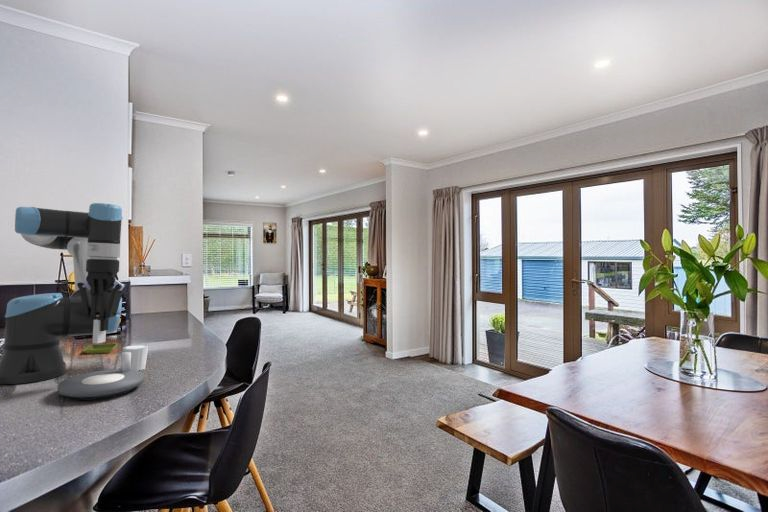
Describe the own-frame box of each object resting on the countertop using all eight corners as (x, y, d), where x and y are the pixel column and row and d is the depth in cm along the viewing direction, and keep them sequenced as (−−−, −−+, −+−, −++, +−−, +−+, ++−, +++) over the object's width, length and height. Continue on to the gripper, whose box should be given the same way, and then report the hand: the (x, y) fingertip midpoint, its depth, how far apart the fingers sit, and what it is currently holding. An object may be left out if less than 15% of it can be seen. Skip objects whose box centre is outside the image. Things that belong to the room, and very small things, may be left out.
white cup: (138, 372, 114) (139, 349, 114) (115, 371, 114) (117, 348, 114) (152, 366, 121) (153, 344, 121) (131, 365, 121) (132, 344, 121)
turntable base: (56, 397, 92) (56, 392, 92) (100, 381, 105) (100, 376, 105) (106, 401, 91) (106, 395, 91) (144, 384, 104) (144, 379, 104)
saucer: (82, 355, 132) (82, 350, 132) (90, 350, 140) (90, 344, 140) (112, 354, 135) (112, 348, 135) (118, 348, 143) (118, 343, 143)
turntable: (37, 394, 90) (38, 367, 90) (99, 372, 108) (100, 350, 108) (107, 399, 89) (109, 371, 89) (158, 376, 106) (160, 353, 107)
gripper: (69, 257, 102) (65, 344, 102) (114, 259, 102) (110, 346, 101) (92, 258, 110) (88, 338, 109) (134, 259, 109) (130, 340, 108)
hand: (99, 342), depth 105 cm, fingers closed
